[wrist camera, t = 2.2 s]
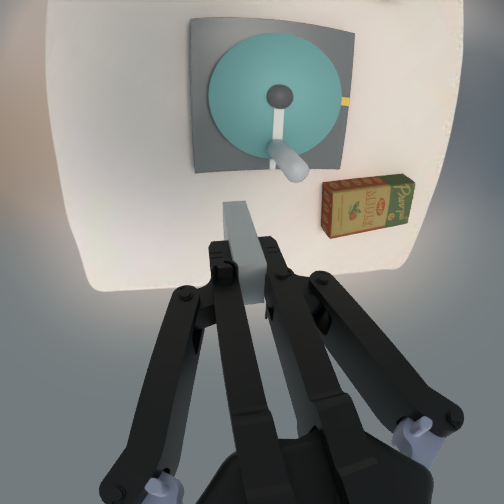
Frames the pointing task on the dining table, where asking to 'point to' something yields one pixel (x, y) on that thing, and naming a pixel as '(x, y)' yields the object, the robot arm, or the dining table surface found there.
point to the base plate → (210, 53)
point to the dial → (276, 99)
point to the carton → (365, 204)
